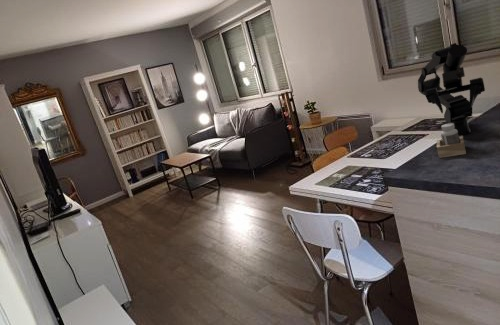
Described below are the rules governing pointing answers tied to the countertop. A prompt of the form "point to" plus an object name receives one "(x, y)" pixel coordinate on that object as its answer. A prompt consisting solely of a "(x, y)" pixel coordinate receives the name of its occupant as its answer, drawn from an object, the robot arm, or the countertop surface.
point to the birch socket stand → (451, 148)
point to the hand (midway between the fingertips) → (456, 110)
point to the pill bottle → (449, 134)
